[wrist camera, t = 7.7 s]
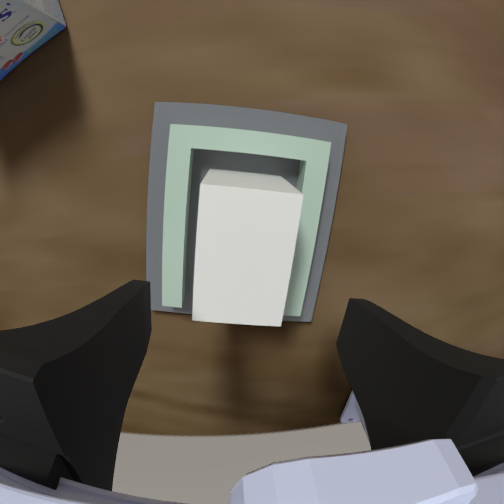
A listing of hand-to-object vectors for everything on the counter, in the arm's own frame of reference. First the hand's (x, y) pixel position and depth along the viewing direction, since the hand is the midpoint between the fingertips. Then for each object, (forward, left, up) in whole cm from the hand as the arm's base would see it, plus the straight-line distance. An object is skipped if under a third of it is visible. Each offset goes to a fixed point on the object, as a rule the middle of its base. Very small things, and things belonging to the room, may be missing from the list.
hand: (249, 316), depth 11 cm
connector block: (0, -1, -9) cm, 9 cm away
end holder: (0, -1, -9) cm, 9 cm away
